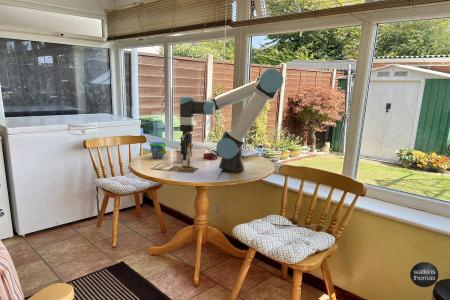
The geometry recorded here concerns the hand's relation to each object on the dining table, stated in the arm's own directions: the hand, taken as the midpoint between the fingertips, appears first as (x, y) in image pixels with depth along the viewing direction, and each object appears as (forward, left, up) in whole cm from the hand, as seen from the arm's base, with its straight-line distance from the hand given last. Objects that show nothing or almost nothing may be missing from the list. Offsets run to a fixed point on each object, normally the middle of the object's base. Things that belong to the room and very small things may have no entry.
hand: (186, 164), depth 176 cm
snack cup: (+31, -29, -5) cm, 43 cm away
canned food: (-4, -39, -5) cm, 40 cm away
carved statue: (0, 0, -3) cm, 3 cm away
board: (+7, 0, -5) cm, 8 cm away
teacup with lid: (+8, -20, -5) cm, 22 cm away
